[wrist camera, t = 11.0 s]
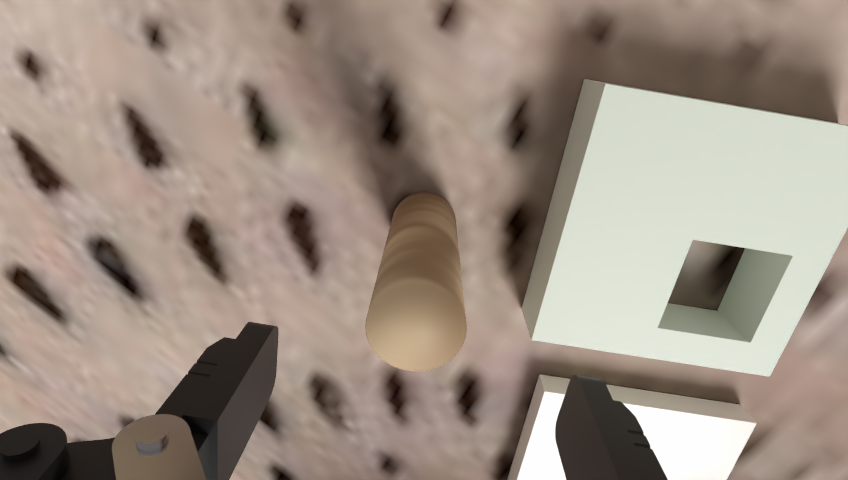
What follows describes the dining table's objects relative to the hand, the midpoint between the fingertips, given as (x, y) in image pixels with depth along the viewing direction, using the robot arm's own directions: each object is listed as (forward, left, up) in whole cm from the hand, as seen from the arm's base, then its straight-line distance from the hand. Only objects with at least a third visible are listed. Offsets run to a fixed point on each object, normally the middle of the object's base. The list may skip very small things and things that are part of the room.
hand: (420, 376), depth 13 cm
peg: (0, 0, -12) cm, 12 cm away
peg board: (+12, +2, -12) cm, 17 cm away
